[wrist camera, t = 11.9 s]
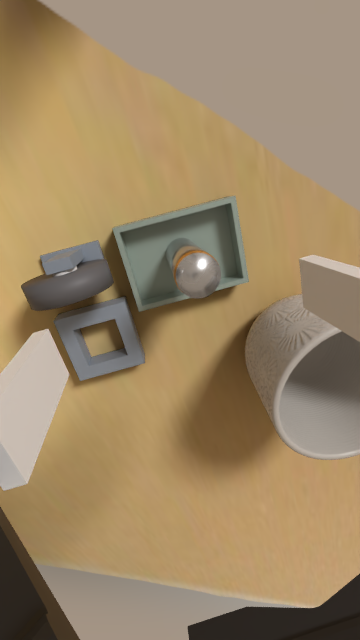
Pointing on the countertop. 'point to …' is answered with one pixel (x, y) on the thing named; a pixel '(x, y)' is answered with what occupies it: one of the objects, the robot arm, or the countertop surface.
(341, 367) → the planter
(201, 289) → the pin
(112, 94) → the countertop surface
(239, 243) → the tray
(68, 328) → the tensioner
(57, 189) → the countertop surface
